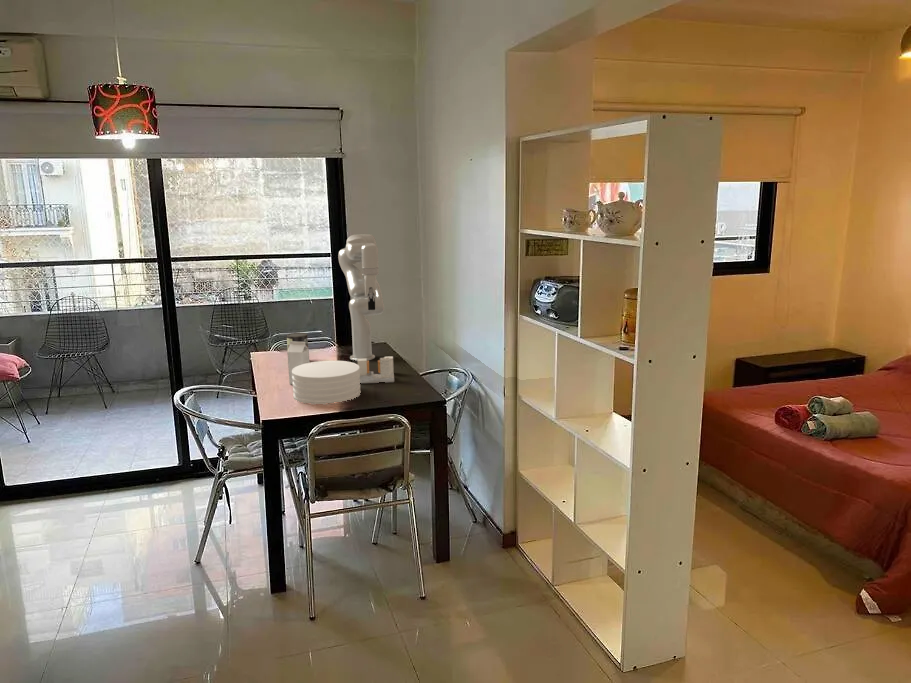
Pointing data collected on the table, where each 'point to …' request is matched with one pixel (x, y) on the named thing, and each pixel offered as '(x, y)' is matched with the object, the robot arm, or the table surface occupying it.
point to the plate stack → (326, 382)
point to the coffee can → (297, 338)
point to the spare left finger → (390, 364)
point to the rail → (383, 377)
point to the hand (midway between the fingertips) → (371, 308)
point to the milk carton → (297, 356)
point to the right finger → (363, 366)
